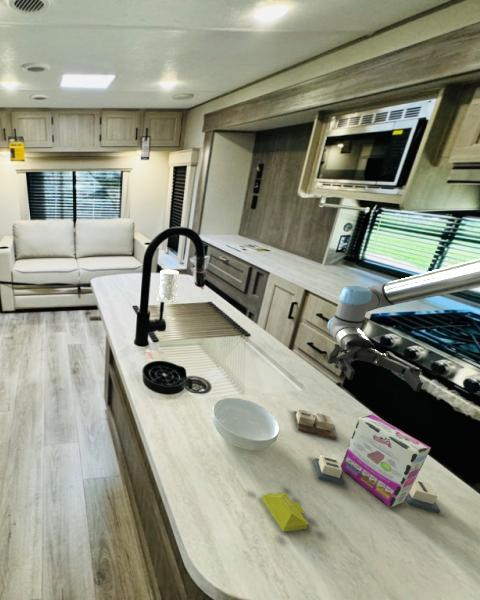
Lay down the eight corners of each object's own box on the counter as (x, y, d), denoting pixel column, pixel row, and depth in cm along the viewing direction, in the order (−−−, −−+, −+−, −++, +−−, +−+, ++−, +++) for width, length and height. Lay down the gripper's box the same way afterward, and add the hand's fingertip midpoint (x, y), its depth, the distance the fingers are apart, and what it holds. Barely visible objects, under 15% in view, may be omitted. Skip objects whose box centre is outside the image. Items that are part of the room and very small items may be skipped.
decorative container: (167, 295, 199) (169, 268, 193) (181, 300, 190) (183, 272, 183) (153, 298, 194) (155, 270, 188) (166, 304, 185) (169, 275, 178)
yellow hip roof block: (251, 494, 73) (254, 486, 72) (288, 490, 74) (291, 482, 73) (281, 540, 64) (284, 531, 63) (322, 535, 65) (326, 526, 64)
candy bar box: (405, 502, 71) (433, 448, 65) (390, 509, 70) (418, 454, 64) (352, 463, 81) (372, 412, 75) (338, 468, 80) (358, 417, 74)
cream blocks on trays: (424, 490, 74) (430, 479, 72) (438, 513, 68) (445, 502, 67) (312, 460, 82) (316, 449, 81) (318, 479, 77) (322, 468, 75)
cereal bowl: (207, 447, 86) (210, 427, 84) (211, 409, 100) (214, 391, 98) (278, 469, 80) (284, 448, 77) (271, 425, 94) (276, 406, 91)
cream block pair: (327, 421, 95) (330, 411, 94) (335, 439, 88) (339, 429, 87) (293, 413, 98) (295, 403, 97) (298, 430, 91) (301, 421, 90)
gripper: (401, 361, 95) (444, 404, 77) (305, 347, 105) (322, 382, 87) (410, 340, 93) (456, 379, 75) (310, 327, 102) (329, 359, 84)
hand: (384, 381), depth 81 cm, fingers open, 13 cm apart
